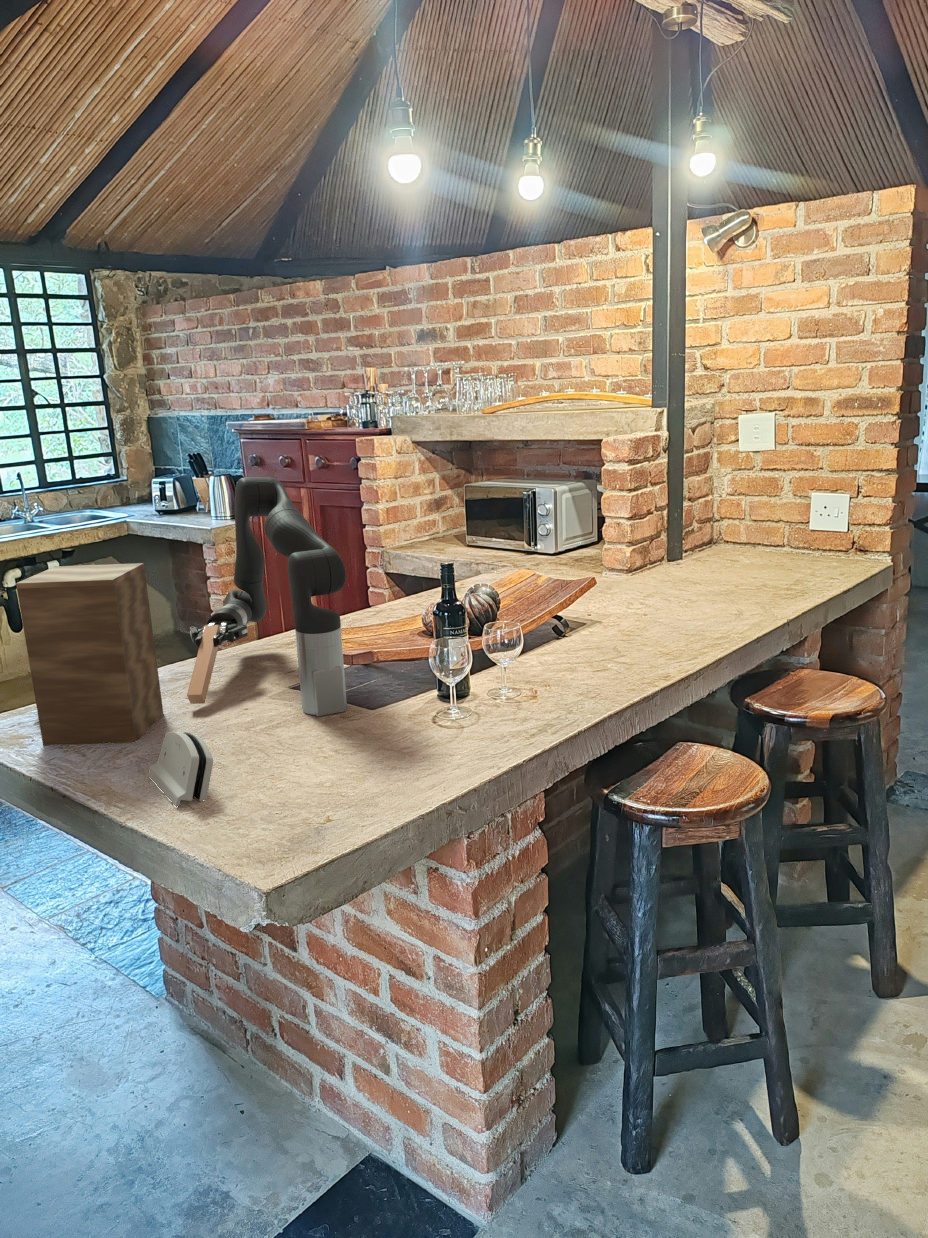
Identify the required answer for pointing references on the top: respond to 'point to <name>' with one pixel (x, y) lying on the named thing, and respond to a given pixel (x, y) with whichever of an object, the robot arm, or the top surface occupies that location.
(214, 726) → the top surface
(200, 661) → the tan block
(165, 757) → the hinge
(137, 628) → the pedestal
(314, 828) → the top surface
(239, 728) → the top surface
